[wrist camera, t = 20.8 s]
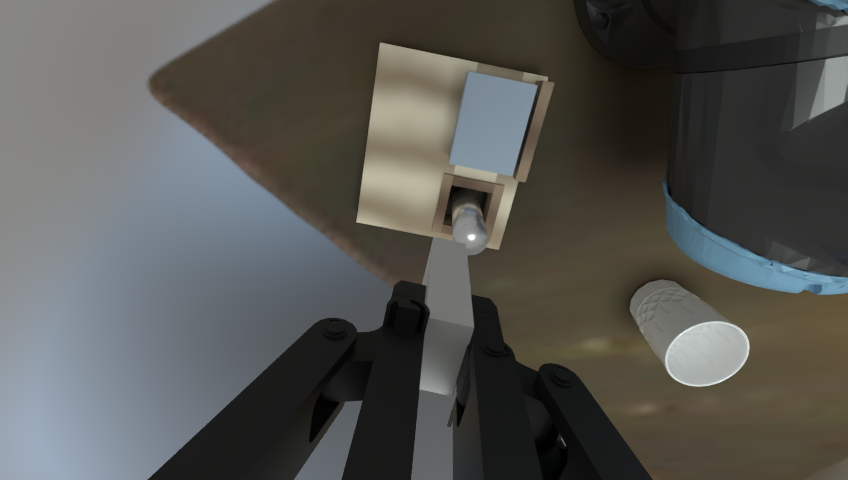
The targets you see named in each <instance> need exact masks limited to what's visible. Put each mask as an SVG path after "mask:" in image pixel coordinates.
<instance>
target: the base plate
mask: <svg viewBox="0 0 848 480" xmlns="http://www.w3.org/2000/svg"><path fill="white" fill-rule="evenodd" d="M468 71H470V72H475V73H480V74H485V75H490V76H494V77H499V78H504V79H509V80H514V81H519V82H524V83H529V84H533V85H538V86H537V90H536V94H535V97H534V101H533V104H532V108H531V112H530V115H529V119H528V122H527V126H526V130H525V133H524V137H523V140H522V144H521V147H520V151H519V155H518V158H517V162H516V165H515V169H514V173H513V176H508V175H503V174H498V173H493V172H488V171H483V170H478V169H473V168H468V167H463V166H458V165H453V164H449V153H450V149H451V144H452V139H453V134H454V130H455V125H456V120H457V115H458V111H459V106H460V101H461V97H462V92H463V87H464V82H465V78H466V73H467V72H468ZM547 79H548V77H545V76H540V75H536V74H531V73H526V72H521V71H516V70H511V69H506V68H502V67H497V66H492V65H487V64H482V63H477V62H472V61H468V60H463V59H458V58H453V57H448V56H443V55H438V54H434V53H429V52H424V51H419V50H414V49H409V48H404V47H400V46H395V45H390V44H385V43H380V47H379V55H378V62H377V70H376V78H375V85H374V93H373V100H372V108H371V116H370V123H369V131H368V138H367V146H366V154H365V161H364V169H363V176H362V184H361V192H360V199H359V207H358V214H357V222H359V223H364V224H369V225H374V226H379V227H385V228H390V229H395V230H400V231H405V232H410V233H415V234H420V235H425V236H431V237H437V238H442V239H446V240H451V241H453V225H452V216H448V215H445V212H446V208H447V203H448V199H449V194H450V189H451V185H453V186H458V187H463V188H468V189H473V190H478V191H483V192H488V194H487V198H486V202H485V205H484V209H483V213H482V215H483V219H484V222H485V226H486V230H487V234H488V243H487V246H486V247H487V248H492V249H497V250H499V248H500V244H501V241H502V237H503V234H504V230H505V227H506V223H507V220H508V216H509V213H510V209H511V206H512V202H513V199H514V195H515V192H516V188H517V185H518V181H521V182H526V179H527V176H528V172H529V169H530V165H531V162H532V158H533V155H534V152H535V148H536V145H537V141H538V138H539V135H540V131H541V128H542V124H543V121H544V117H545V114H546V111H547V107H548V104H549V100H550V97H551V94H552V90H553V87H554V83H553V82H548V81H547Z"/></svg>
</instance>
